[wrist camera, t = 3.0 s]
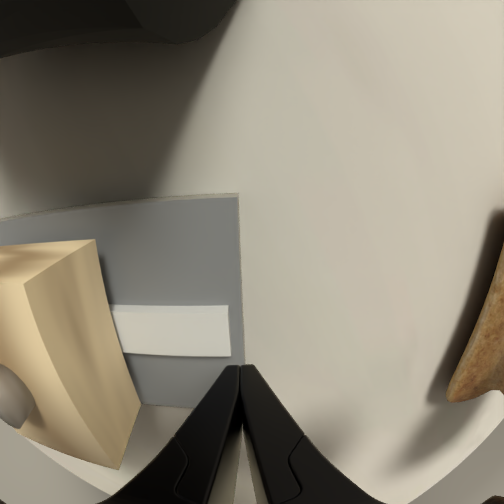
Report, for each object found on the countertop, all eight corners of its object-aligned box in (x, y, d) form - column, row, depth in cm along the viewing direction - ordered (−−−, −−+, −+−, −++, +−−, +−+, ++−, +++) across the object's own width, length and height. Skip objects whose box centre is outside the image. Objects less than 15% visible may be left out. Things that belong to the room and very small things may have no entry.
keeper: (48, 385, 11) (8, 448, 6) (-2, 246, 8) (-81, 290, 3) (141, 404, 11) (111, 493, 6) (95, 239, 9) (-8, 306, 4)
